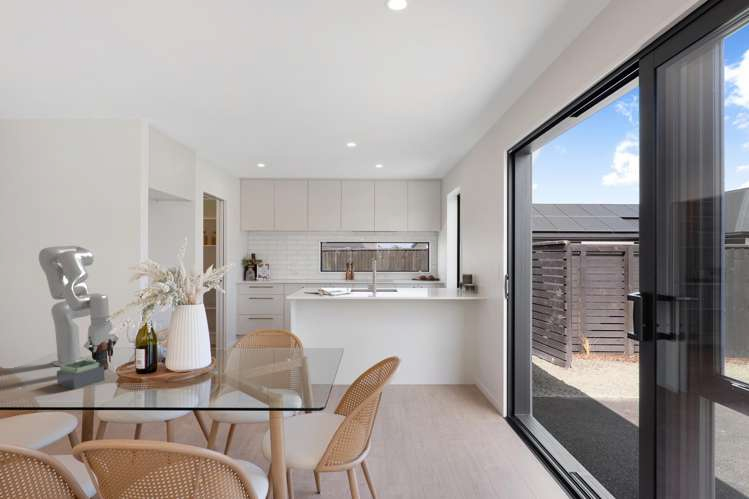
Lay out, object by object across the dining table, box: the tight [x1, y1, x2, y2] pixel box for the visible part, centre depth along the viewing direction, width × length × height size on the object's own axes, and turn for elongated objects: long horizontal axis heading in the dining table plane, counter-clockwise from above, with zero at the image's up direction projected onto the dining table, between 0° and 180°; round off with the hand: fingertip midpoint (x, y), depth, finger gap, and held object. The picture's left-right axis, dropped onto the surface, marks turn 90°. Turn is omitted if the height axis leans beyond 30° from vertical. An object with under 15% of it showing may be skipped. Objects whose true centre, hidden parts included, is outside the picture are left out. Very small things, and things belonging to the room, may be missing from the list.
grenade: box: [95, 339, 112, 370], centre depth 201 cm, size 6×8×15 cm
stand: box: [56, 359, 106, 390], centre depth 183 cm, size 14×12×8 cm
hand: (102, 357), depth 201 cm, fingers closed on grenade, 6 cm apart
